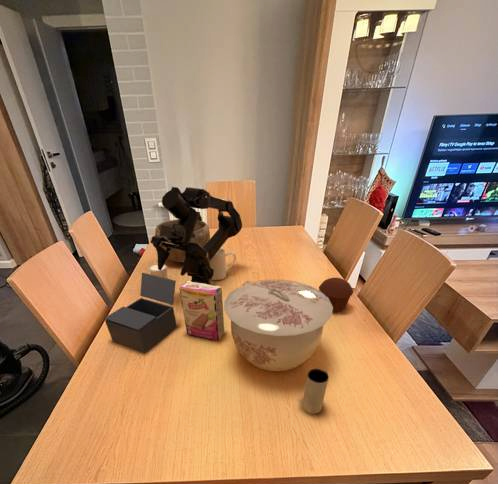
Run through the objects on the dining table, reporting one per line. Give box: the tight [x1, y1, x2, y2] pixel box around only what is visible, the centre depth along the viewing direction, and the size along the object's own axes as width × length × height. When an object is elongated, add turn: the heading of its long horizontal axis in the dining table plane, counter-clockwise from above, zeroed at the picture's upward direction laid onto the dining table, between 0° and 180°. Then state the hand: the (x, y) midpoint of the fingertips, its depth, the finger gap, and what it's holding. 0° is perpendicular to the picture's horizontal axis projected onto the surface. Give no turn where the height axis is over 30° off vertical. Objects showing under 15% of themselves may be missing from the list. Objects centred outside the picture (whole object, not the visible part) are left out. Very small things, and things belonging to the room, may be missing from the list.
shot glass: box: [148, 263, 169, 279], centre depth 118 cm, size 7×7×7 cm
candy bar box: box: [178, 280, 225, 342], centre depth 89 cm, size 11×5×16 cm, turn 71°
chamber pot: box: [223, 279, 333, 372], centre depth 80 cm, size 28×28×21 cm
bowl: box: [154, 218, 211, 263], centre depth 135 cm, size 24×24×15 cm
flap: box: [139, 272, 177, 306], centre depth 93 cm, size 7×13×1 cm
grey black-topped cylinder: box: [301, 368, 330, 415], centre depth 68 cm, size 4×4×10 cm
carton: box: [103, 297, 178, 354], centre depth 92 cm, size 15×13×8 cm
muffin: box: [318, 277, 354, 314], centre depth 103 cm, size 12×11×10 cm
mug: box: [210, 247, 237, 281], centre depth 123 cm, size 12×8×10 cm, turn 98°
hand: (170, 272), depth 97 cm, fingers open, 9 cm apart
